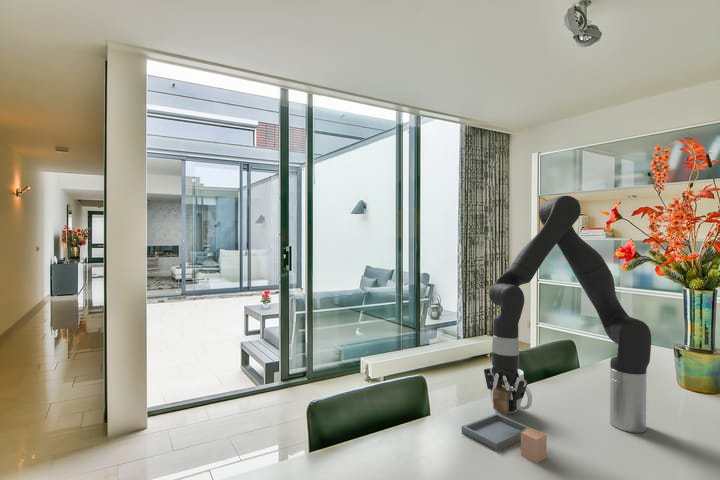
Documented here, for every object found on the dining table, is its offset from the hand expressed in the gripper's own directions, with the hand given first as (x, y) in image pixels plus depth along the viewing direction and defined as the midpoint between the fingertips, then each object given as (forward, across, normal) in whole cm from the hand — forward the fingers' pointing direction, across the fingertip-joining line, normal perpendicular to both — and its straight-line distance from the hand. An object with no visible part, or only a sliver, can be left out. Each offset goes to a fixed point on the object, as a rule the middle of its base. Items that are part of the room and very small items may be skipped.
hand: (504, 408), depth 120 cm
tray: (+7, 0, +4) cm, 8 cm away
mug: (+7, +8, -13) cm, 17 cm away
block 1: (0, 0, 0) cm, 0 cm away
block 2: (+7, -13, +6) cm, 16 cm away
